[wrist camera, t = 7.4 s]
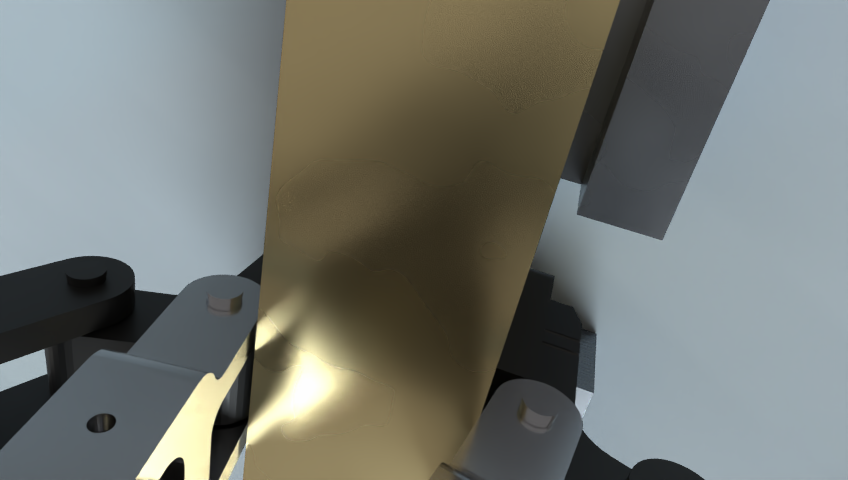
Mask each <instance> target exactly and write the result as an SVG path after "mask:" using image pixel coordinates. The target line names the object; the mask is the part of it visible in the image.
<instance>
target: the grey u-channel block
mask: <svg viewBox="0 0 848 480" xmlns="http://www.w3.org/2000/svg"><path fill="white" fill-rule="evenodd" d="M769 1H770V0H620V2H619V5H618V8H617V11H616V14H615V17H614V20H613V23H612V26H611V29H610V32H609V35H608V38H607V41H606V44H605V47H604V50H603V53H602V55H601V58H600V61H599V64H598V67H597V70H596V73H595V76H594V79H593V82H592V85H591V88H590V91H589V94H588V97H587V100H586V103H585V106H584V109H583V112H582V115H581V118H580V121H579V124H578V127H577V130H576V133H575V136H574V139H573V142H572V145H571V148H570V151H569V154H568V157H567V160H566V162H565V165H564V168H563V171H562V174H561V177H560V178H562V179H565V180H569V181H572V182H575V183H579V184H581V190H580V197H579V203H578V210H577V215H581V216H584V217H587V218H590V219H594V220H597V221H600V222H604V223H607V224H610V225H614V226H617V227H620V228H623V229H627V230H630V231H633V232H637V233H640V234H643V235H646V236H650V237H653V238H656V239H660V240H663V238H664V235H665V233H666V231H667V229H668V226H669V224H670V222H671V220H672V217H673V215H674V213H675V211H676V209H677V206H678V204H679V202H680V200H681V197H682V195H683V193H684V191H685V188H686V186H687V184H688V182H689V180H690V177H691V175H692V173H693V171H694V168H695V166H696V164H697V162H698V159H699V157H700V155H701V153H702V151H703V148H704V146H705V144H706V142H707V139H708V137H709V135H710V133H711V130H712V128H713V126H714V124H715V121H716V119H717V117H718V115H719V113H720V110H721V108H722V106H723V104H724V101H725V99H726V97H727V95H728V92H729V90H730V88H731V86H732V84H733V81H734V79H735V77H736V75H737V72H738V70H739V68H740V66H741V63H742V61H743V59H744V57H745V55H746V52H747V50H748V48H749V46H750V43H751V41H752V39H753V37H754V34H755V32H756V30H757V28H758V25H759V23H760V21H761V19H762V17H763V14H764V12H765V10H766V8H767V5H768V3H769ZM595 355H596V333H593V332H590V331H587V330H584V329H582V330H581V341H580V353H579V365H578V376H577V388H576V399H575V406H576V407H577V409H578V410H579V412H580V414H581V417H582V418H583V416H584V414H585V412H586V409H587V407H588V405H589V403H590V401H591V398H592V396H593V394H594V378H595Z"/></svg>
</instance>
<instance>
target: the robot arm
mask: <svg viewBox="0 0 848 480" xmlns="http://www.w3.org/2000/svg"><path fill="white" fill-rule="evenodd" d="M262 265H263V255H262V256H261V257H259V258H258V259H257V260H256V261H255V262H253V263H252V264H251V265H250V266H248V267H247V268H246V269H245V270H244V271H242V272H241V273H240V274H239V275H237V276H235V275H212V276H207V277H203V278H200V279H197V280H195V281H193V282H191V283H190V284H188V285H187V286H186V287H185V288H184V289H183V290H182V291H181V292H180V293H179V294H178V295H171V294H163V293H155V292H147V291H140V290H135V275H134V272H133V270H132V269H131V267H130V266H128V265H127V264H126V263H124V262H122V261H119V260H116V259H113V258H108V257H101V256H83V257H75V258H70V259H66V260H62V261H58V262H54V263H50V264H46V265H42V266H38V267H34V268H30V269H26V270H22V271H18V272H14V273H10V274H7V275H3V276H0V364H2V363H5V362H8V361H11V360H14V359H17V358H19V357H22V356H25V355H28V354H31V353H34V352H37V351H39V350H42V349H45V357H46V365H47V374H46V375H43V376H40V377H38V378H35V379H33V380H30V381H27V382H25V383H22V384H19V385H17V386H14V387H11V388H9V389H6V390H4V391H1V392H0V480H228V479H229V477H230V475H231V473H232V471H233V468H234V466H235V464H236V462H237V460H238V458H239V456H240V454H241V452H242V450H243V448H244V446H245V444H246V441H247V430H248V419H249V408H250V397H251V386H252V375H253V364H254V353H255V342H256V331H257V320H258V309H259V298H260V287H261V276H262ZM553 282H554V276H553V275H550V274H546V273H543V272H540V271H537V270H534V269H531V268H530V269H529V272H528V275H527V278H526V281H525V284H524V287H523V290H522V293H521V296H520V299H519V302H518V305H517V308H516V311H515V314H514V317H513V320H512V323H511V326H510V329H509V332H508V335H507V338H506V341H505V344H504V347H503V350H502V353H501V356H500V359H499V362H498V365H497V368H496V371H495V374H494V376H493V379H492V382H491V385H490V388H489V391H488V394H487V397H486V400H485V403H484V406H483V409H482V412H481V415H480V417H479V418H478V420H477V422H476V423H475V425H474V426H473V428H472V430H471V431H470V433H469V434H468V436H467V437H466V439H465V441H464V442H463V444H462V445H461V447H460V449H459V450H458V452H457V453H456V455H455V456H454V458H453V460H452V461H451V463H450V464H449V465H448V464H446V463H445V462H442V463H441V464H440V465H439V466H438V467H437V469H436V470H435V471H434V473H433V474H432V476H431V477H430V479H429V480H704V479H703V478H702V477H700V476H699V475H698V474H696V473H695V472H693V471H691V470H690V469H688V468H686V467H684V466H682V465H680V464H677V463H674V462H671V461H668V460H663V459H647V460H643V461H641V462H638V463H637V464H636V465H635V466H634V467H633V468H632V469H630V468H629V467H627V466H625V465H624V464H622V463H621V462H619V461H618V460H616V459H614V458H613V457H611V456H610V455H608V454H607V453H605V452H604V451H602V450H601V449H600V448H599V447H598V446H596V445H595V444H594V443H593V442H592V441H591V440H590V439H589V438H588V436H587V435H586V434H585V433H584V431H583V430H582V429H583V421H582V417H581V414H580V412H579V410H578V409H577V407H576V406H575V399H576V388H577V376H578V365H579V353H580V341H581V330H582V323H581V322H580V320H579V318H578V316H577V314H576V312H575V310H574V308H573V307H571V306H568V305H565V304H562V303H559V302H556V301H553V300H550V298H551V293H552V287H553Z"/></svg>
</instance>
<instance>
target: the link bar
mask: <svg viewBox="0 0 848 480" xmlns="http://www.w3.org/2000/svg"><path fill="white" fill-rule="evenodd" d="M619 2H620V0H286V11H285V22H284V33H283V44H282V55H281V66H280V77H279V88H278V99H277V110H276V121H275V132H274V143H273V154H272V165H271V176H270V187H269V198H268V209H267V220H266V232H265V243H264V254H263V265H262V276H261V287H260V298H259V309H258V320H257V331H256V342H255V353H254V364H253V375H252V386H251V397H250V408H249V419H248V430H247V441H246V452H245V463H244V474H243V480H429V479H430V477H431V476H432V474H433V473H434V471H435V470H436V469H437V467H438V466H439V465H440V464H441V463H442V462H445V463H446V464H448V465H449V464H450V463H451V461H452V460H453V458H454V456H455V455H456V453H457V452H458V450H459V449H460V447H461V445H462V444H463V442H464V441H465V439H466V437H467V436H468V434H469V433H470V431H471V430H472V428H473V426H474V425H475V423H476V422H477V420H478V418H479V417H480V415H481V412H482V409H483V406H484V403H485V400H486V397H487V394H488V391H489V388H490V385H491V382H492V379H493V376H494V374H495V371H496V368H497V365H498V362H499V359H500V356H501V353H502V350H503V347H504V344H505V341H506V338H507V335H508V332H509V329H510V326H511V323H512V320H513V317H514V314H515V311H516V308H517V305H518V302H519V299H520V296H521V293H522V290H523V287H524V284H525V281H526V278H527V275H528V272H529V269H530V267H531V264H532V261H533V258H534V255H535V252H536V249H537V246H538V243H539V240H540V237H541V234H542V231H543V228H544V225H545V222H546V219H547V216H548V213H549V210H550V207H551V204H552V201H553V198H554V195H555V192H556V189H557V186H558V183H559V180H560V177H561V174H562V171H563V168H564V165H565V162H566V160H567V157H568V154H569V151H570V148H571V145H572V142H573V139H574V136H575V133H576V130H577V127H578V124H579V121H580V118H581V115H582V112H583V109H584V106H585V103H586V100H587V97H588V94H589V91H590V88H591V85H592V82H593V79H594V76H595V73H596V70H597V67H598V64H599V61H600V58H601V55H602V53H603V50H604V47H605V44H606V41H607V38H608V35H609V32H610V29H611V26H612V23H613V20H614V17H615V14H616V11H617V8H618V5H619Z"/></svg>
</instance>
